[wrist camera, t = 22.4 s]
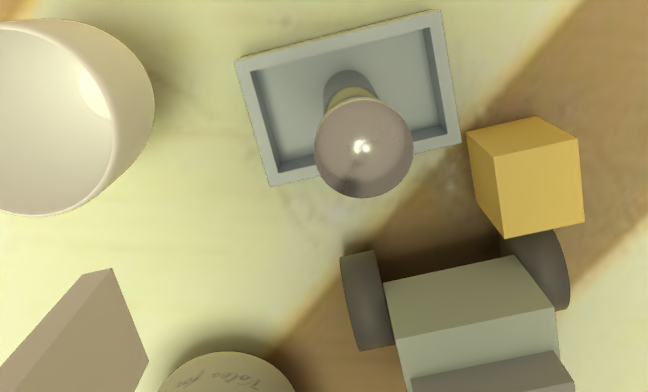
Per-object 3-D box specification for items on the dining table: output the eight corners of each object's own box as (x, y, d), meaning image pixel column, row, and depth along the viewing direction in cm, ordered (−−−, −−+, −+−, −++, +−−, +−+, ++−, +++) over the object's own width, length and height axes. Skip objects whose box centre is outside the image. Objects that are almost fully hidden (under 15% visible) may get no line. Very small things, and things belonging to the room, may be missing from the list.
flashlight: (324, 132, 34) (326, 207, 22) (309, 71, 33) (302, 114, 21) (385, 118, 34) (421, 186, 22) (372, 56, 33) (403, 90, 20)
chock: (475, 202, 37) (504, 239, 31) (465, 131, 35) (493, 157, 29) (543, 187, 36) (584, 222, 31) (535, 115, 35) (577, 138, 29)
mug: (170, 8, 32) (95, 13, 22) (192, 147, 35) (135, 213, 24) (-34, 25, 33) (-208, 38, 22) (4, 162, 35) (-134, 233, 25)
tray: (274, 172, 36) (269, 187, 33) (241, 56, 33) (233, 61, 30) (450, 131, 35) (461, 142, 32) (430, 9, 32) (440, 10, 30)
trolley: (373, 381, 41) (394, 535, 29) (338, 242, 37) (346, 354, 26) (545, 346, 40) (638, 491, 28) (526, 200, 36) (625, 296, 25)
